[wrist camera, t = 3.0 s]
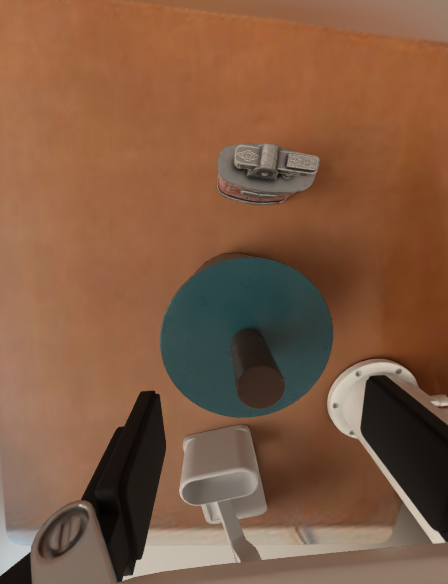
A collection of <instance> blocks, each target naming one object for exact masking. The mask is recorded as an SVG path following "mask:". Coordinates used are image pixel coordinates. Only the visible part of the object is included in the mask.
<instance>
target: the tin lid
mask: <svg viewBox="0 0 448 584" xmlns="http://www.w3.org/2000/svg"><path fill="white" fill-rule="evenodd" d="M332 342H333V326H332V319H331V315H330V312H329V309H328V306H327V304H326V302H325V300H324V298H323V296H322V295H321V293H320V292H319V290H318V289H317V288H316V286H315V285H314V284H313V283H312V282H311V281H310V280H309V279H308V278H307V277H305V276H304V275H303V274H302V273H300V272H299V271H297V270H296V269H294V268H292V267H290V266H288V265H286V264H284V263H281V262H278V261H275V260H272V259H268V258H262V257H236V258H230V259H226V260H222V261H219V262H217V263H214V264H212V265H209V266H208V267H206V268H204V269H202V270H200V271H199V272H198V273H196V274H195V275H193V276H192V277H191V278H190V279H189V280H188V281H187V282H186V283H185V284H183V285H182V287H181V288H180V289H179V290H178V292H177V293H176V294H175V296H174V297H173V299H172V300H171V302H170V304H169V306H168V308H167V310H166V313H165V315H164V318H163V322H162V326H161V333H160V349H161V355H162V360H163V363H164V365H165V368H166V371H167V373H168V375H169V377H170V379H171V380H172V381H173V383H174V384H175V386H176V387H177V388H178V389H179V390H180V391H181V393H182V394H183V395H184V396H186V397H187V398H188V399H189V400H190V401H192V402H193V403H195V404H196V405H198V406H200V407H202V408H204V409H206V410H208V411H210V412H213V413H216V414H220V415H224V416H229V417H256V416H262V415H266V414H270V413H273V412H276V411H279V410H281V409H283V408H285V407H287V406H289V405H291V404H292V403H294V402H295V401H297V400H298V399H300V398H301V397H302V396H303V395H304V394H306V393H307V392H308V391H309V390H310V389H311V388H312V387H313V385H314V384H315V383H316V382H317V380H318V379H319V378H320V376H321V374H322V372H323V371H324V369H325V367H326V364H327V362H328V360H329V356H330V353H331V349H332Z"/></svg>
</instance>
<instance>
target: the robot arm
mask: <svg viewBox="0 0 448 584" xmlns="http://www.w3.org/2000/svg"><path fill="white" fill-rule="evenodd" d="M437 406H448V397H447V396H446V395H444V394H441V395H432V396H429V395H428V394H426V393H425V392H424V391H422V390H421V389H420V388H418V383H417V381H416V379H415V377H414V376H413V375H412V374H411V372H410V371H408V370H407V369H406V368H404V367H403V366H402V365H400V364H398V363H396V362H394V361H391V360H387V359H370V360H366V361H362V362H359V363H357V364H355V365H353V366H351V367H350V368H348V369H346V370H345V371H344V372H343V373H342V374H341V375H340V376H339V377H338V378H337V379H336V380H335V382H334V383H333V385H332V387H331V389H330V392H329V394H328V400H327V408H328V413H329V416H330V418H331V419H332V421H333V423H334V424H335V425H336V427H337V428H338V429H339V430H340V431H341V432H343V433H344V434H346V435H347V436H350V437H353V438H356V439H359V440H360V442H361V443H362V444H363V446H364V447H365V449H366V450H367V451H368V453H369V454H370V456H371V457H372V458H373V460H374V461H375V463H376V464H377V465H378V467H379V468H380V470H381V471H382V472H383V474H384V475H385V477H386V478H387V479H388V481H389V482H390V484H391V485H392V486H393V488H394V489H395V491H396V492H397V493H398V495H399V496H400V498H401V499H402V500H403V502H404V503H405V505H406V506H407V507H408V509H409V510H410V512H411V513H412V514H413V516H414V517H415V519H416V520H417V521H418V523H419V524H420V525H421V527H422V528H423V530H424V531H425V533H426V534H427V535H428V537H429V538H430V540H431V541H432V542H433V544H425V545H424V544H423V545H413V546H401V547H390V548H380V549H370V550H359V551H348V552H339V553H329V554H318V555H307V556H298V557H287V558H279V559H269V560H259V561H249V562H240V563H230V564H221V565H212V566H204V567H197V568H189V569H180V570H173V571H165V572H159V573H154V574H149V575H144V576H139V577H134V578H131V579H128V580H125V581H122V579H123V576H128V575H133V572H134V567H135V563H136V560H140V559H141V558H142V555H143V551H144V547H145V543H146V538H147V534H148V529H149V525H150V520H151V516H152V511H153V506H154V502H155V497H156V493H157V488H158V484H159V479H160V475H161V470H162V466H163V461H164V457H165V452H166V440H165V432H164V425H163V417H162V409H161V402H160V395H159V394H155V391H142V392H140V394H139V396H138V398H137V401H136V403H135V405H134V407H133V409H132V411H131V413H130V416H129V418H128V420H127V422H126V424H125V426H124V427H118V428H117V429H116V431H115V433H114V435H113V437H112V439H111V441H110V443H109V445H108V447H107V449H106V451H105V453H104V455H103V457H102V459H101V461H100V463H99V465H98V467H97V469H96V471H95V473H94V475H93V477H92V479H91V481H90V483H89V485H88V487H87V489H86V491H85V493H84V495H83V497H82V499H81V500H78V501H74V502H71V503H69V504H67V505H65V506H63V507H61V508H60V509H59V510H57V511H56V512H55V513H54V514H52V515H51V516H50V517H49V518H48V520H47V521H46V522H45V523H44V524H43V525H42V527H41V528H40V530H39V531H38V533H37V534H36V536H35V539H34V541H33V544H32V546H31V552H30V553H29V554H27V555H26V556H25V557H24V558H22V559H21V560H20V561H19V562H17V563H16V564H15V565H14V566H12V567H11V568H10V569H9V570H7V571H6V572H5V573H4V574H2V575H1V576H0V584H448V408H438V407H437Z"/></svg>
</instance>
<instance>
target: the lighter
mask: <svg viewBox="0 0 448 584" xmlns="http://www.w3.org/2000/svg"><path fill="white" fill-rule="evenodd" d="M217 166H218V173H219V176H218V179H217V189H218V192H219V193H220V195H221V196H223V197H226V198H228V199H231V200H234V201H238V202H243V203H247V204H258V205H268V204H279V203H281V202H283V201H284V200H286V198H287V197H288V196H290V195H292V194H294V193H297V192H301V191H304V190H306V189H307V188H308V187H310V186H311V184H312V183H313V181H314V179H315V176H316V172H317V170H318V168H319V158H318V157H317V156H314V155H307V154H301V153H298V152H295V151H293V150H290V149H286V148H281V147H279V146H278V145H275V144H263V145H262V144H240V145H230V146H227V147H225V148H224V149H223V150H222V151H221V153H220V155H219V158H218V163H217Z"/></svg>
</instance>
